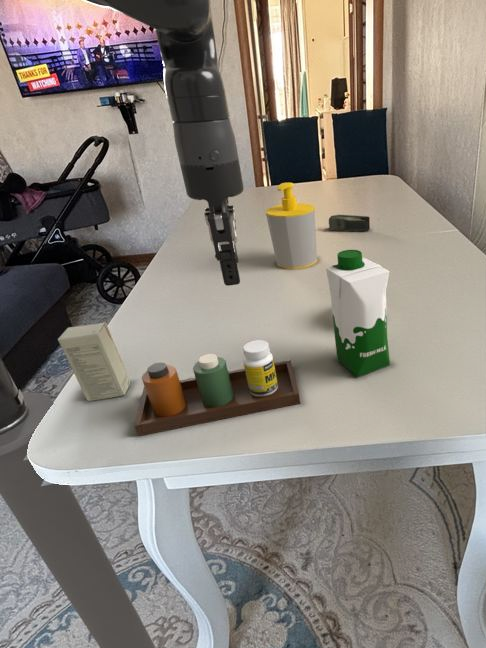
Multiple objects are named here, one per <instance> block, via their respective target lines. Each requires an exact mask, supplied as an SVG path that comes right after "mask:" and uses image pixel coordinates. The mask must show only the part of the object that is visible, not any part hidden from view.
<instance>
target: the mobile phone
mask: <svg viewBox="0 0 486 648" xmlns="http://www.w3.org/2000/svg"><path fill="white" fill-rule="evenodd" d="M370 221H371V219H370V216H367V215H352V214H335V215H331V216H330V217H329V218H328V227H325V228H324V230H325V231H337V232H338V231H340V232H368V231H370V228H371V224H370Z"/></svg>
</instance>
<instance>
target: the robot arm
mask: <svg viewBox="0 0 486 648" xmlns="http://www.w3.org/2000/svg"><path fill="white" fill-rule="evenodd" d="M83 1H84V2H86V3H90V4H92V5H95V6H99V7H101V8H108V9H109V8H110V9H112V10H113V11H116V12H119V13H120V14H122V15H125V16H127V17H129V18H131V19H133V20H136V21H137V22H140V23H142V24H144V25H146V26H148V27H150V28H152V29H154V33H155V36H156V39H157V40H156V41H157V43H158V47H159V52H160V57H161V60H162V64H163V82H164V91H165V95H166V100H167V104H168V109H169V112H170V113H169V114H170V117H171V121H172V128H173V138H174V143H175V144H174V145H175V149H176V153H177V157H178V162H179V166H180V170H181V174H182V179H183V184H184V188H185V192H186V195H187V197H188V198H190V199H192V200H195V201H202V200H203V201H206V202H207V204H208V207H204V219H205V223H206V226H207V227H208V232H209V238H210V239H209V240H210V242H211V244H212V246H213V248H214V252H215V253H214V257H215V259H216V261H217V262H219V265H220V271H221V276H222V280H223V284H224V285H225V286H226V287H227V286H228V287H229V286H236V285H239V284H240V283H241V277H240V272H239V268H238V264H239V257H238V252H237V251H238V250H237V246H236V243H237V242H238V236H237V231H236V230H237V226H236V222H237V220H236V211H235V206H234V205H233V204H231V205H230V203H229V198H234V197H237V196H239V195H241V194H242V193H243V192H244V183H243V177H242V171H241V166H240V165H241V164H240V159H239V153H238V147H237V140H236V137H235V133H234V129H233V126H232V123H231V118H230V111H229V105H228V100H227V95H226V89H225V84H224V81H223V78H222V74H221V71H220V67H219V61H218V60H219V59H218V52H217V45H216V38H215V30H214V22H213V14H212V7H211V0H83ZM22 393H23V392H22V391H21V388H20V389H18V387H17V386H16V383H15V382H14V380H13V378H12V376H11V374H10V373H9V370H8V368H7V366H6V365H5V363H4V361H3V359H2V358H1V356H0V435H1V434H3V433H6V432H8V431H10V430H11V429H13V428H15V427H16V426H18V425H19V424H20V423H22V422H23V421H24V420H25V419H26V417H27V416H28V414H29V409H28V407H27V405H26V403H25V402H24V400H23V397H24V396H23V394H22Z"/></svg>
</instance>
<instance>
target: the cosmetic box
mask: <svg viewBox="0 0 486 648" xmlns="http://www.w3.org/2000/svg"><path fill="white" fill-rule="evenodd" d="M57 341H58V343H59V345H60V347H61V349H62V351H63V354H64V355H65V358H66V360H67V362H68V364H69V366H70V368H71V370H72V372H73V374H74V376H75V378H76V380H77V382H78V384H79V386H80V388H81V391H82V392H83V395H84V396H85V398H86V400H87V401H88V402H90V401H92V402H93V401H97V400H98V401H99V400H104V399H111V398H117V397H123V396H125V395H126V393H127V391H128V389H129V387H130V384H131V379H130V377H129V375H128V372H127V370H126V367H125V365H124V362H123V360H122V358H121V356H120V353H119V350H118V348H117V346H116V343H115V341H114V339H113V336H112V334H111V332H110V329H109V327H108V325H107V322H106V321H105V322H98V323H90V324H83V325H76V326H69V327H67V328H66V329H65V330H64V331H63V333H62V334H61V335H60V336H59V337H58V338H57Z"/></svg>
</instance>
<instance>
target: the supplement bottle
mask: <svg viewBox="0 0 486 648" xmlns="http://www.w3.org/2000/svg"><path fill="white" fill-rule="evenodd" d="M242 350H243V355H244V357H243V367H244V369H245V372H246V377H247V381H248V386H249V391H250V393H251V394H252V395H254V396H257V397H264V396H268V395H271V394H273V393H274V392H275V391H276V390H277V388H278V383H277V378H276V372H275V366H274V363H275V361H274V356H273V354H272V353H271V352H270V351H271V349H270V345H269V343H268V341H266V340H262V339H256V340H251V341H249V342H247V343H245V344H244V345H243V347H242Z"/></svg>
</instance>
